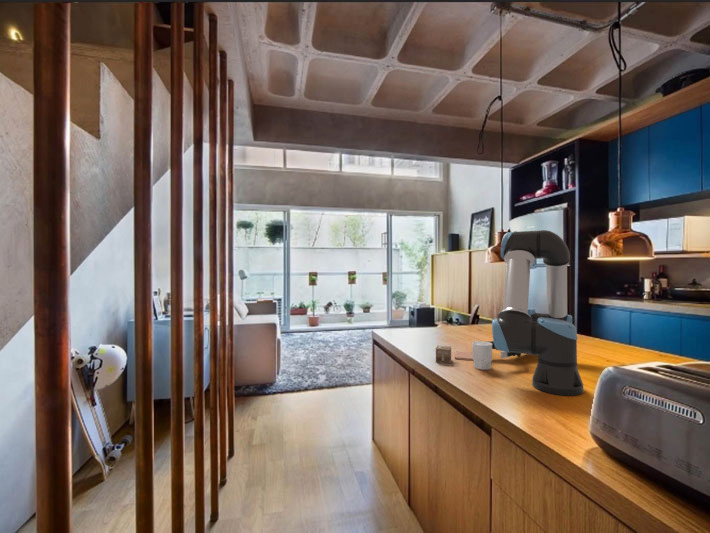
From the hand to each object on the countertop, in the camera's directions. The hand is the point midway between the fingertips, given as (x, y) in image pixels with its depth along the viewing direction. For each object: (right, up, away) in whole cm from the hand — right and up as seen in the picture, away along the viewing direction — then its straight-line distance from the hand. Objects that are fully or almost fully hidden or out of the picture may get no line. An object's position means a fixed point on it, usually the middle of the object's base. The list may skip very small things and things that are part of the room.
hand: (486, 351), depth 145 cm
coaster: (-3, -6, +14) cm, 15 cm away
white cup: (-3, -6, -2) cm, 7 cm away
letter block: (-16, -6, +8) cm, 19 cm away
